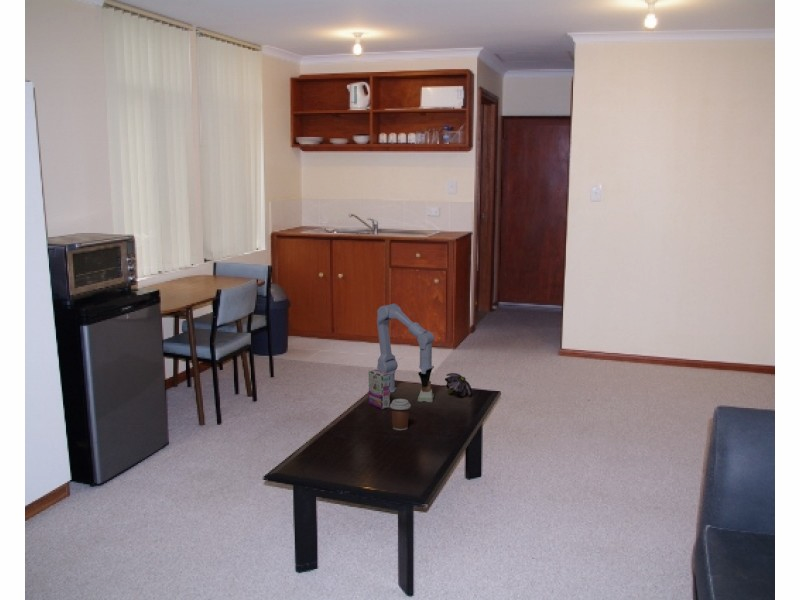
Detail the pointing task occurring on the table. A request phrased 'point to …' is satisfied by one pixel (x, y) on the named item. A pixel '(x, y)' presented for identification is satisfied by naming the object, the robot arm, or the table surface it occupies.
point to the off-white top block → (426, 394)
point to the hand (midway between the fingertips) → (425, 384)
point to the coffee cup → (400, 413)
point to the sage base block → (425, 398)
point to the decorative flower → (458, 384)
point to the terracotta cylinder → (428, 388)
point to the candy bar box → (379, 389)
